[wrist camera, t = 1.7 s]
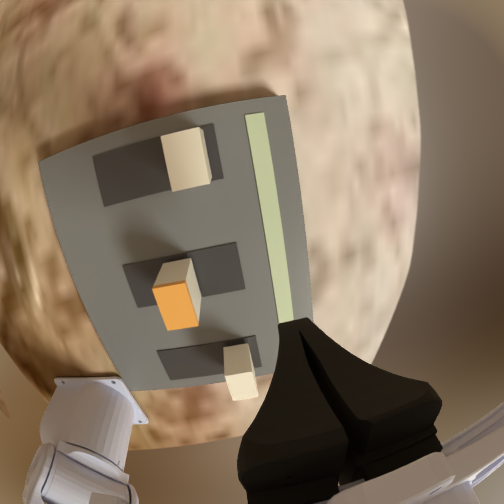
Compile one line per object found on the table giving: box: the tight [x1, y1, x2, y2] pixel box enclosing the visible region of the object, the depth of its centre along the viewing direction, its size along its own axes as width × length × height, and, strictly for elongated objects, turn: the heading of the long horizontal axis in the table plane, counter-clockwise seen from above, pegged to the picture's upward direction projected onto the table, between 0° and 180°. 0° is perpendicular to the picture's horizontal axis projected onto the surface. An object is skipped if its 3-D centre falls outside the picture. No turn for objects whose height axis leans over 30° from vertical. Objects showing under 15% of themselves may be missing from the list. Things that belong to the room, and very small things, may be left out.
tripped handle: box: [152, 258, 201, 331], centre depth 18 cm, size 2×3×4 cm, turn 9°
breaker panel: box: [38, 95, 313, 401], centre depth 19 cm, size 18×22×5 cm
